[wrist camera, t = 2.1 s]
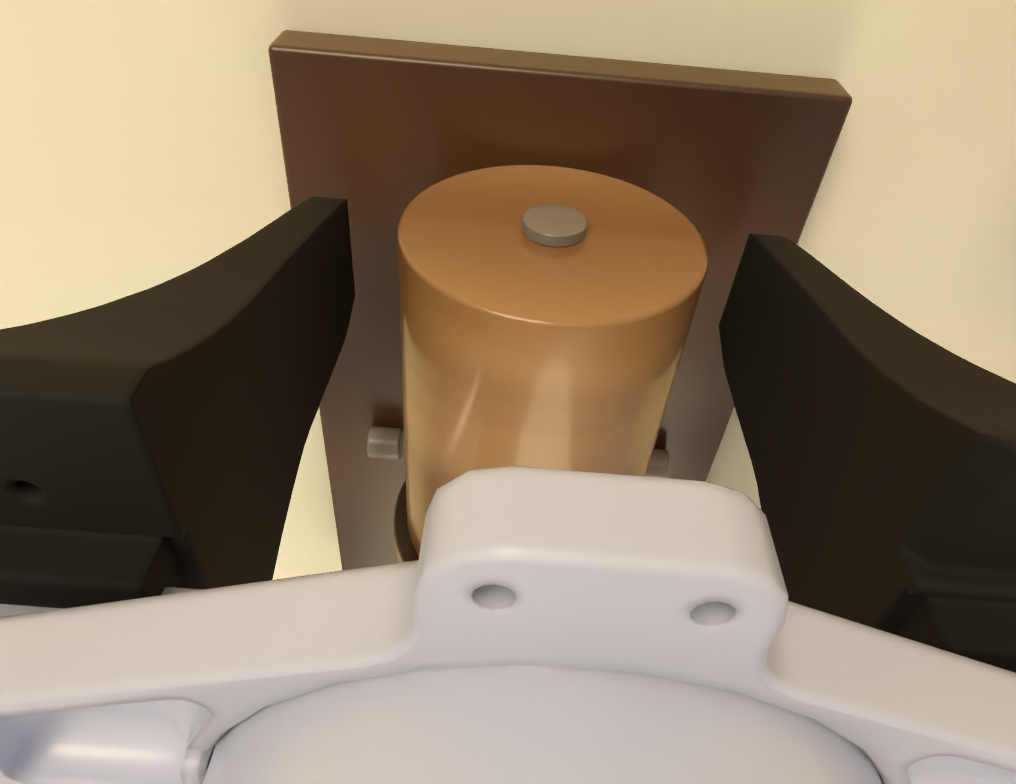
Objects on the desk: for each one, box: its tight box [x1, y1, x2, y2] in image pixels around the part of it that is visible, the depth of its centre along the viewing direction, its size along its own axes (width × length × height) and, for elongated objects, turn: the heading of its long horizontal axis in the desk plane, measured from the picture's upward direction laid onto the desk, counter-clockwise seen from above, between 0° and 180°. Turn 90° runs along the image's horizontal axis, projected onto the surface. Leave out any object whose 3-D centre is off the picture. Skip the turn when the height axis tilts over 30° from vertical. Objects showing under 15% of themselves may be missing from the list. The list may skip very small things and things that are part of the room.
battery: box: [393, 165, 708, 563], centre depth 14 cm, size 5×5×8 cm
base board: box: [269, 30, 852, 570], centre depth 17 cm, size 16×10×2 cm, turn 176°
